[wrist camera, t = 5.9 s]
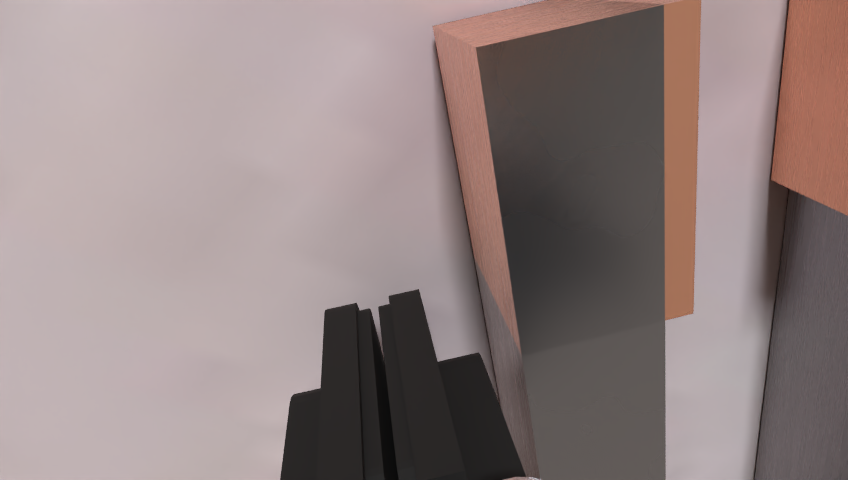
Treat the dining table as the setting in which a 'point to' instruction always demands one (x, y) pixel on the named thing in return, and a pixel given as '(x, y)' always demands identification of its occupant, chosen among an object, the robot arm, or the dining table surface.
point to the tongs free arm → (579, 217)
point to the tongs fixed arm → (810, 255)
